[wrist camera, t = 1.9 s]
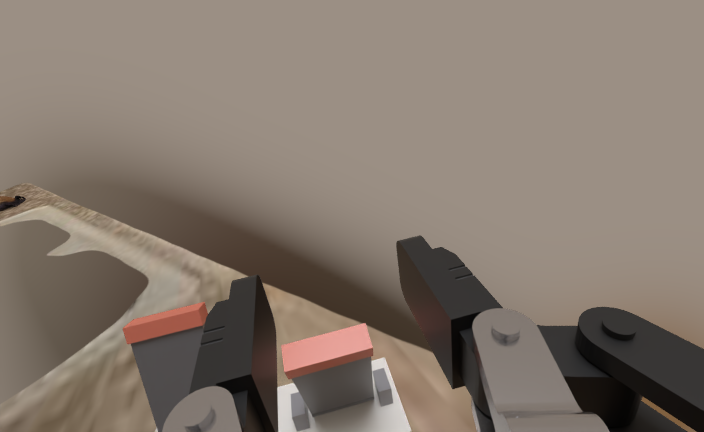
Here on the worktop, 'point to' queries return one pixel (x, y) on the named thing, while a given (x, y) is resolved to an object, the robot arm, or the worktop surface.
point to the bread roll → (10, 202)
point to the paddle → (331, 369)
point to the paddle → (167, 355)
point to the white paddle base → (346, 409)
